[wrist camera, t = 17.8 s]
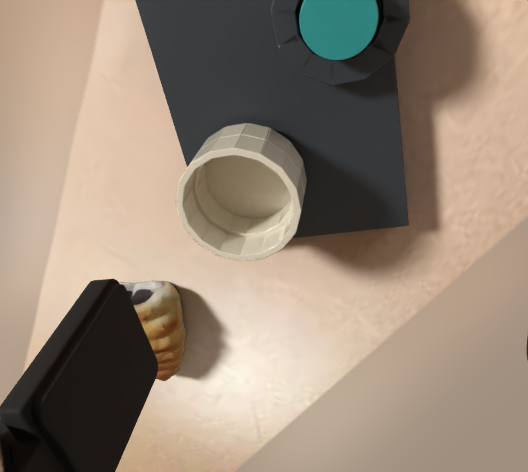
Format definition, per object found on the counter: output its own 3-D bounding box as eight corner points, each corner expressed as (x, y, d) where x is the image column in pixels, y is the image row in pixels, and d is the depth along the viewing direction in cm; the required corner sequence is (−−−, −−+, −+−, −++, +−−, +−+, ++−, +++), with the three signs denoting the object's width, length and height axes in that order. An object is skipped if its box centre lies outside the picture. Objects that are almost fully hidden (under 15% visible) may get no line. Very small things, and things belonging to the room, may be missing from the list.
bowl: (184, 130, 30) (160, 159, 26) (295, 111, 28) (286, 139, 25) (213, 228, 33) (196, 266, 29) (314, 215, 32) (309, 254, 28)
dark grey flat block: (143, -16, 28) (119, -10, 25) (397, -78, 25) (403, -80, 22) (218, 233, 36) (206, 260, 33) (417, 210, 33) (424, 237, 30)
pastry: (201, 365, 43) (188, 401, 40) (128, 363, 44) (110, 397, 41) (179, 276, 38) (163, 308, 35) (98, 276, 40) (75, 307, 36)
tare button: (296, -18, 24) (292, -14, 22) (372, -35, 23) (374, -33, 22) (308, 59, 26) (306, 67, 24) (380, 45, 25) (382, 52, 23)
